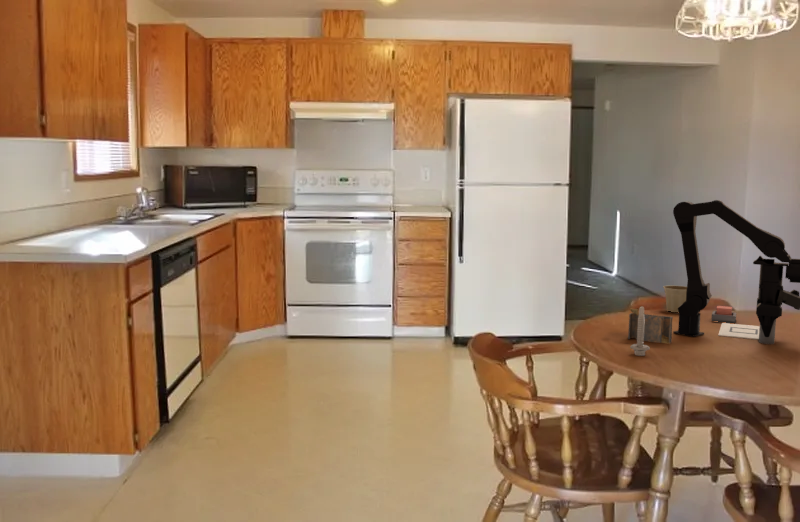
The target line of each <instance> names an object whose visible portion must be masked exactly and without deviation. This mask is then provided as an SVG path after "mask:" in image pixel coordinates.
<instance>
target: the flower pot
mask: <svg viewBox="0 0 800 522" xmlns="http://www.w3.org/2000/svg"><path fill="white" fill-rule="evenodd" d="M662 288H663V289H664V293H665V303H666V311H667V312H668V311H671V312H678V307H679V306H680V305H681V304H682V303H684V302H685V301H686V291H687V285H686V286H685V285H673V284H672V285H663V287H662ZM671 312H670V313H671Z"/></svg>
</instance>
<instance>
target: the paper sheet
mask: <svg viewBox="0 0 800 522" xmlns="http://www.w3.org/2000/svg"><path fill="white" fill-rule="evenodd" d="M759 328H760V325H751V324H750V325H749V324H738V323H735V324H730V323H721V325H720V328H719V332H718V335H717V336H720V337H728V338H736V339H737V338H738V339H747V340H750V339H751V340H757V341H759Z"/></svg>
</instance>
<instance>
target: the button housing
mask: <svg viewBox="0 0 800 522" xmlns="http://www.w3.org/2000/svg"><path fill="white" fill-rule="evenodd" d="M716 312H717V310H712V313H711V321H718V322H717V323H719V322H726V323H735V324H736V321H737V312H733V311H732V315H720V314H716Z"/></svg>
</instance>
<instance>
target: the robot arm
mask: <svg viewBox="0 0 800 522" xmlns="http://www.w3.org/2000/svg"><path fill="white" fill-rule="evenodd" d="M672 214H673V218H674V220H675V223H676V225H677V228H678V230H679V232H680V234H681V235H680V237H681V243H682V248H683V249H682V251H683V256H684V263H685V269H686V276H687V284H686V287H687V291H686V301H685V302H684V303H682V304H681V305H680V306H679V307H678V312H679V313H678V329H677V330H674V331H673V330H672V333H673V334H677V335H682V336H686V337H691V338H692V337H693V338H694V337H698V336H703V335H705V332H703V331H700V328H701V313H700V312H701V311H703V310H704V309H705V308H706V307H707V306H708V304H709V303H710V299H711V298H712V296H713V295H712V293H711V290H710V288H711V284H710V282H708V283H705V281H704V279H703V276H702V275H703V274H702V269H701V261H700V255H699V249H698V247H699V246H698V240H697V235H696V233H697V232H696V227H697V219H698V218H697V217H700V216H707V215H715V216H716V217H718V218H719V219H721V220H722V221H723V222H725V223H726V224H728V225H729V226H731V227H732V228H733V229H735V230H736V231H738V232H740V233H741V234H742V235H744V236H745V237H746V238H748V240H750V242H752V244H753V245H754V246H755V247H756V248H757V249H758V250H759V251H760V252H761V253H762V254H763V255H764V257H767V258H764V257H763V256H762V255H759V256H758V257H757V258H756V259H755V260H753V262H752V264H753V265H759V266H760V267H759V283H758V295H757V299H756V309H755V310H756V311H755V314H756V316H757V319H758V322H759V326H760V325H761V328H762V330H763V333H764V336H765V337H769V336H770V333H771V329H772V326H773V323H774V320H775V319H776V320H777V319H778V318H781V317H782V316H783V304H785V305H787V306H790V307H791V308H793V309H794V310H797V311H800V291H799V290H797V289H793V290H791V291H789V290H788V291H787V290H784V285H783V277H784V276H783V275H784V267H785V279H787V280H789V283H796V284H797V283H798V284H800V258H792V257H791V254H789V253H788V251H787V250H786V249H785V248H786V243H785V241H784V239H783V238H782V237H780V236H777V235H775V234H773V233H771V232H769V231H767V230H764V229H762V228H760V227H758V226H756V225H755V224H753V223H752V222H751V221H749V220H748V219H746V217H743V216H742V215H740V214H739V213H738V212H736V211H735V210H733V209H732V208H731V207H730V206H727V205H726V204H725V203H724V202H723V200H719V199H715V200H712V201H706V202H697V203H693V202H691V201H686V200H685V201H681V202H678V203H677V204H676V205H675V206H674V207H673V212H672ZM775 259H777V260H778V261H780V262H775V261H776V260H775Z"/></svg>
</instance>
